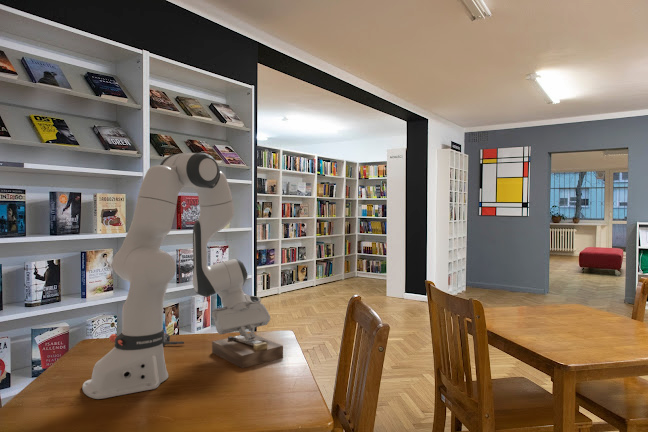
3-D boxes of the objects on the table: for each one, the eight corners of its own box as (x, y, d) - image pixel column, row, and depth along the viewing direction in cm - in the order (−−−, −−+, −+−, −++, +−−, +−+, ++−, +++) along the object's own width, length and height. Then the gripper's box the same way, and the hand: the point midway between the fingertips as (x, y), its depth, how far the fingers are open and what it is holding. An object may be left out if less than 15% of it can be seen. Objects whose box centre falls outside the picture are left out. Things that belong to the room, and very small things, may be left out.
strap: (254, 346, 144) (254, 343, 144) (232, 339, 155) (232, 336, 155) (262, 344, 146) (262, 341, 146) (239, 337, 157) (239, 335, 157)
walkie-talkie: (127, 348, 158) (183, 347, 159) (127, 336, 158) (183, 335, 159) (135, 341, 167) (188, 340, 168) (135, 329, 167) (188, 329, 168)
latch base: (242, 368, 137) (242, 350, 137) (212, 352, 152) (212, 336, 152) (282, 357, 148) (283, 340, 148) (251, 343, 163) (251, 328, 163)
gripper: (213, 304, 147) (227, 339, 140) (263, 296, 161) (278, 328, 154) (206, 315, 150) (220, 350, 143) (256, 306, 164) (271, 338, 157)
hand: (251, 338), depth 149 cm, fingers closed, pressing on strap
